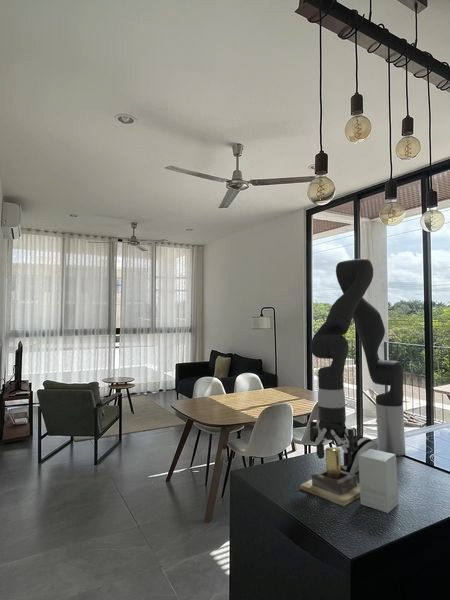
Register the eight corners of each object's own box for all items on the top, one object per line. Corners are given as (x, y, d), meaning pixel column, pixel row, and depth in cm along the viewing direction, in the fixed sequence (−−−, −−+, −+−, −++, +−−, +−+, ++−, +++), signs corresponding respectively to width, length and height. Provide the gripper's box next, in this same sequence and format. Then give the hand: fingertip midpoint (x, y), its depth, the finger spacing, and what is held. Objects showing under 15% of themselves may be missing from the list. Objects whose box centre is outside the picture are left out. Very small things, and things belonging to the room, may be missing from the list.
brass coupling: (331, 481, 108) (330, 446, 109) (344, 485, 105) (343, 449, 106) (323, 485, 106) (322, 449, 106) (336, 490, 102) (335, 452, 103)
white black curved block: (359, 456, 132) (368, 431, 130) (372, 464, 129) (381, 438, 127) (338, 470, 119) (346, 442, 118) (351, 479, 116) (360, 450, 115)
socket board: (326, 476, 115) (326, 462, 115) (369, 491, 104) (368, 475, 104) (300, 489, 106) (299, 473, 107) (343, 506, 96) (343, 489, 96)
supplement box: (399, 503, 97) (397, 454, 98) (387, 514, 91) (385, 461, 92) (371, 495, 102) (369, 447, 103) (359, 504, 97) (357, 454, 98)
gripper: (361, 405, 104) (363, 465, 103) (318, 398, 115) (320, 452, 114) (346, 410, 99) (349, 472, 98) (303, 402, 110) (305, 458, 109)
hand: (333, 461), depth 106 cm, fingers open, 8 cm apart
